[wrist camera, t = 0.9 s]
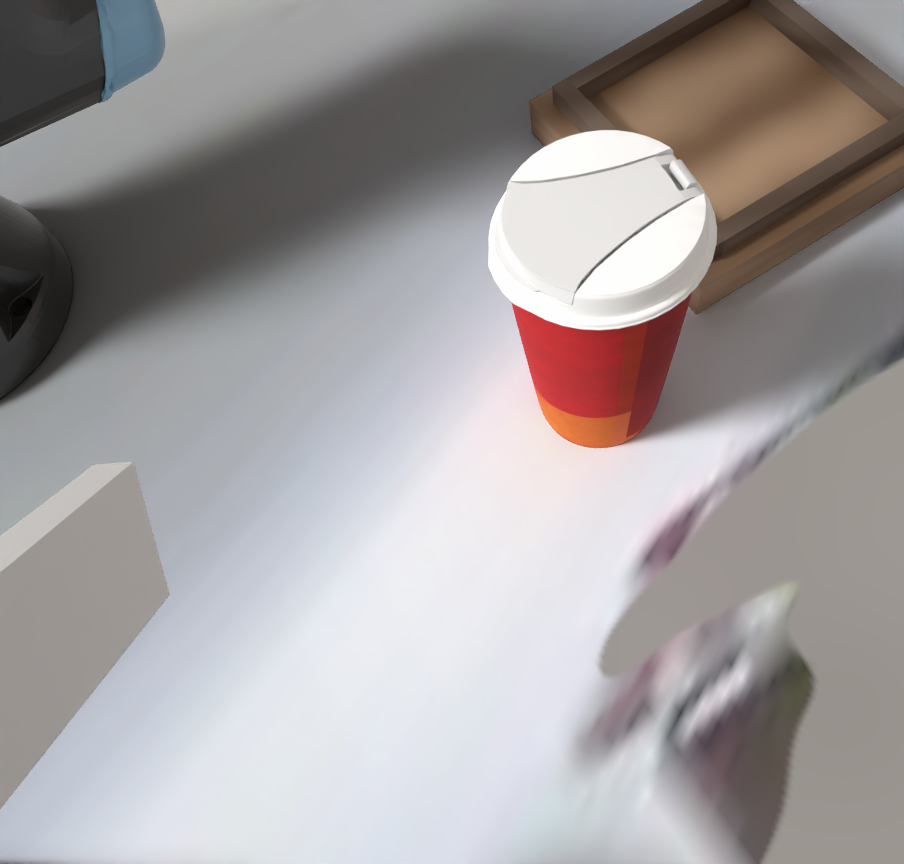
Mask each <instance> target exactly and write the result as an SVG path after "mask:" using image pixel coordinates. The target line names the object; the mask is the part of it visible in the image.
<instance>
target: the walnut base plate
mask: <svg viewBox="0 0 904 864" xmlns="http://www.w3.org/2000/svg"><path fill="white" fill-rule="evenodd" d="M529 104H530V115H531V126H532V133H533V134H534V135H535V136H536V137H537V138H538V140H539V141H540V142H541V143H542V144H543V145H544V146H547V145H549V144H551V143H553V142H555V141H557V140H560V139H563V138H565V137H568V136H571V135H575V134H579V133H583V132H590V131H599V130H618V131H626V132H633V133H636V134H640V135H644V136H647V137H650V138H652V139H655V140H657V141H660V142H662V143H663V144H665V145H667V146H668V147H670V148H671V149H672V150H673V154H674V156H675V158H676V159H677V160H678V159H680V160H682V161H683V163H684V164H685V165H686V167H687V168H688V170H689V171H690V172H691V174H692V175H693V176H694V177H695V179H696V180H697V182H698V183H699V184H700V185H701V187H702V188H703V190H704V191H705V193H706V195H707V196H708V198H709V200H710V202H711V205H712V208H713V210H714V213H715V218H716V225H717V243H716V247H715V252H714V256H713V260H712V262H711V264H710V266H709V268H708V271H707V273H706V274H705V276H704V277H703V279H702V280H701V282H700V283H699V285H698V286H697V287H696V288H695V289H694V290H693V292H692V295H691V299H690V302H689V305H688V306H689V307H690V308H691V309H692V310H693V311H694V313H695V314H697V313H699V312H701V311H702V310H704V309H705V308H707V307H709V306H710V305H712V304H714V303H715V302H717V301H719V300H720V299H722V298H723V297H725V296H727V295H728V294H730V293H732V292H733V291H735V290H737V289H738V288H740V287H741V286H743V285H745V284H746V283H748V282H750V281H751V280H753V279H755V278H756V277H758V276H759V275H761V274H763V273H764V272H766V271H768V270H769V269H771V268H772V267H774V266H776V265H777V264H779V263H781V262H782V261H784V260H786V259H787V258H789V257H790V256H792V255H794V254H795V253H797V252H799V251H800V250H802V249H804V248H805V247H807V246H808V245H810V244H812V243H813V242H815V241H817V240H818V239H820V238H822V237H823V236H825V235H826V234H828V233H830V232H831V231H833V230H835V229H836V228H838V227H839V226H841V225H843V224H844V223H846V222H848V221H849V220H851V219H853V218H854V217H856V216H857V215H859V214H861V213H862V212H864V211H866V210H867V209H869V208H871V207H872V206H874V205H875V204H877V203H879V202H880V201H882V200H884V199H885V198H887V197H889V196H890V195H892V194H893V193H895V192H897V191H898V190H900V189H902V188H903V187H904V88H903V87H902V86H901V85H899V84H898V83H897V82H896V81H894V80H893V79H892V78H890V77H889V76H888V75H887V74H885V73H884V72H883V71H882V70H880V69H879V68H878V67H877V66H875V65H874V64H873V63H871V62H870V61H869V60H868V59H866V58H865V57H864V56H863V55H861V54H860V53H859V52H857V51H856V50H855V49H854V48H852V47H851V46H850V45H849V44H847V43H846V42H845V41H844V40H842V39H841V38H840V37H838V36H837V35H836V34H835V33H833V32H832V31H831V30H830V29H828V28H827V27H826V26H825V25H823V24H822V23H821V22H819V21H818V20H817V19H816V18H814V17H813V16H812V15H811V14H809V13H808V12H807V11H805V10H804V9H803V8H802V7H800V6H799V5H798V4H797V3H795V2H794V1H793V0H703V1H701V2H699V3H697V4H696V5H694V6H692V7H690V8H689V9H687V10H685V11H683V12H682V13H680V14H678V15H676V16H675V17H673V18H671V19H669V20H668V21H666V22H664V23H662V24H661V25H659V26H657V27H655V28H654V29H652V30H650V31H648V32H647V33H645V34H643V35H642V36H640V37H638V38H636V39H635V40H633V41H631V42H629V43H628V44H626V45H624V46H622V47H621V48H619V49H617V50H615V51H614V52H612V53H610V54H608V55H607V56H605V57H603V58H601V59H600V60H598V61H596V62H594V63H593V64H591V65H589V66H587V67H586V68H584V69H582V70H580V71H579V72H577V73H575V74H573V75H572V76H570V77H568V78H567V79H565V80H563V81H561V82H560V83H558V84H556V85H554V86H553V87H552V88H551V89H550V90H548V91H546V92H544V93H543V94H541V95H539V96H537V97H536V98H534V99H532V100H530V101H529Z"/></svg>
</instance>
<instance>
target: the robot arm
mask: <svg viewBox="0 0 904 864" xmlns="http://www.w3.org/2000/svg"><path fill="white" fill-rule="evenodd" d="M164 49H165V34H164V28H163V24H162V21H161V18H160V15H159V12H158V9H157V6H156V3H155V0H0V147H1V146H3V145H5V144H8V143H10V142H12V141H14V140H17V139H19V138H21V137H23V136H25V135H28V134H30V133H32V132H34V131H36V130H39V129H41V128H43V127H45V126H48V125H50V124H52V123H54V122H56V121H59V120H61V119H63V118H65V117H68V116H70V115H72V114H74V113H76V112H79V111H81V110H83V109H85V108H87V107H90V106H92V105H94V104H96V103H101V102H104V101H106V100H108V99H109V98H110V97H111V96H112V94H113V93H114V92H115V91H117V90H119V89H121V88H122V87H124V86H126V85H128V84H129V83H131V82H133V81H135V80H136V79H138V78H140V77H142V76H144V75H145V74H147V73H149V72H150V71H152V70H153V69H154V68H155V67H156V66H157V65H158V63H159V62H160V60H161V58H162V56H163V53H164ZM71 297H72V271H71V266H70V262H69V259H68V257H67V254H66V252H65V250H64V248H63V247H62V245H61V244H60V243H59V241H58V240H57V239H56V238H55V237H54V236H53V235H52V234H51V233H50V232H49V231H48V230H47V228H46V227H45V226H44V225H43V224H42V223H41V222H40V221H39V220H38V219H37V218H36V217H35V216H33V215H32V214H31V213H30V212H28V211H27V210H26V209H24V208H23V207H21V206H20V205H18V204H16V203H14V202H12V201H10V200H8V199H6V198H4V197H2V196H0V398H1V397H3V396H4V395H6V394H7V393H8V392H10V391H11V390H12V389H14V388H15V387H16V386H17V385H18V384H20V383H21V382H22V381H23V380H24V379H25V378H26V377H27V376H28V375H29V374H30V373H31V372H32V371H33V370H34V369H35V368H36V367H37V366H38V365H39V363H40V362H41V361H42V360H43V358H44V357H45V356H46V354H47V353H48V352H49V350H50V349H51V347H52V346H53V344H54V342H55V341H56V339H57V337H58V335H59V333H60V331H61V329H62V327H63V325H64V322H65V320H66V317H67V314H68V311H69V307H70V303H71ZM169 595H170V594H169V590H168V587H167V583H166V579H165V576H164V572H163V568H162V565H161V561H160V557H159V554H158V550H157V546H156V543H155V539H154V535H153V532H152V528H151V524H150V521H149V517H148V513H147V510H146V506H145V502H144V499H143V495H142V491H141V488H140V484H139V480H138V477H137V473H136V469H135V466H134V462H123V463H108V464H94V465H92V466H91V467H90V468H89V469H87V470H86V471H85V472H83V473H82V474H81V475H79V476H78V477H77V478H75V479H74V480H73V481H72V482H70V483H69V484H68V485H66V486H65V487H64V488H62V489H61V490H60V491H58V492H57V493H56V494H55V495H53V496H52V497H51V498H49V499H48V500H47V501H45V502H44V503H43V504H41V505H40V506H39V507H38V508H36V509H35V510H34V511H32V512H31V513H30V514H28V515H27V516H26V517H24V518H23V519H22V520H21V521H19V522H18V523H17V524H15V525H14V526H13V527H11V528H10V529H9V530H7V531H6V532H5V533H3V534H2V535H1V536H0V809H1V808H2V806H3V805H4V804H5V803H6V801H7V800H8V799H9V797H10V796H11V795H12V794H13V792H14V791H15V790H16V789H17V787H18V786H19V785H20V784H21V782H22V781H23V780H24V778H25V777H26V776H27V775H28V773H29V772H30V771H31V770H32V768H33V767H34V766H35V765H36V763H37V762H38V761H39V760H40V758H41V757H42V756H43V754H44V753H45V752H46V751H47V749H48V748H49V747H50V746H51V744H52V743H53V742H54V741H55V739H56V738H57V737H58V736H59V734H60V733H61V732H62V730H63V729H64V728H65V727H66V725H67V724H68V723H69V722H70V720H71V719H72V718H73V717H74V715H75V714H76V713H77V711H78V710H79V709H80V708H81V706H82V705H83V704H84V703H85V701H86V700H87V699H88V698H89V696H90V695H91V694H92V693H93V691H94V690H95V689H96V687H97V686H98V685H99V684H100V682H101V681H102V680H103V679H104V677H105V676H106V675H107V674H108V672H109V671H110V670H111V668H112V667H113V666H114V665H115V663H116V662H117V661H118V660H119V658H120V657H121V656H122V655H123V653H124V652H125V651H126V650H127V648H128V647H129V646H130V644H131V643H132V642H133V641H134V639H135V638H136V637H137V636H138V634H139V633H140V632H141V631H142V629H143V628H144V627H145V625H146V624H147V623H148V622H149V620H150V619H151V618H152V617H153V615H154V614H155V613H156V612H157V610H158V609H159V608H160V607H161V605H162V604H163V603H164V601H165V600H166V599H167V598H168V596H169Z"/></svg>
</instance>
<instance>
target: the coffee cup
mask: <svg viewBox="0 0 904 864" xmlns="http://www.w3.org/2000/svg"><path fill="white" fill-rule="evenodd" d="M716 243H717V225H716V218H715V213H714V210H713V208H712V205H711V202H710V200H709V198H708V196H707V195H706V193H705V191H704V190H703V188H702V187H701V185H700V184H699V183H698V182H697V180H696V179H695V177H694V176H693V175H692V174H691V172H690V171H689V170H688V168H687V167H686V165H685V164H684V163H683V161H682V160H680V159H678V160H677V159H676V158H675V156H674V154H673V150H672V149H671V148H670V147H668V146H667V145H665V144H663V143H662V142H660V141H657V140H655V139H652V138H650V137H647V136H644V135H640V134H636V133H633V132H626V131H618V130H599V131H590V132H583V133H579V134H575V135H571V136H568V137H565V138H563V139H560V140H557V141H555V142H553V143H551V144H549V145H547V146H545V147H543V148H542V149H541V150H539V151H538V152H536V153H535V154H533V155H532V156H531V157H530V158H529V159H527V160H526V161H525V162H524V163H523V164H522V165H521V166H520V167H519V169H518V170H517V171H516V172H515V174H514V175H513V176H512V177H511V179H510V181H509V182H508V184H507V191H506V192H505V193H504V195H503V196H502V198H501V200H500V202H499V203H498V205H497V207H496V209H495V212H494V215H493V217H492V220H491V225H490V231H489V262H488V266H489V269H490V271H491V273H492V276H493V278H494V280H495V282H496V283H497V285H498V286H499V288H500V289H501V291H502V292H503V293H504V295H505V296H506V297H507V298H508V299H509V300H510V301H511V302H512V306H513V310H514V314H515V317H516V321H517V325H518V329H519V332H520V336H521V340H522V344H523V347H524V351H525V354H526V358H527V362H528V365H529V369H530V373H531V376H532V380H533V383H534V387H535V390H536V394H537V397H538V400H539V403H540V406H541V409H542V411H543V414H544V416H545V418H546V420H547V421H548V423H549V424H550V426H551V427H552V428H553V429H554V430H555V431H556V432H557V433H558V434H559V435H560V436H562V437H563V438H565V439H566V440H568V441H570V442H572V443H574V444H577V445H580V446H584V447H590V448H606V447H612V446H616V445H619V444H622V443H624V442H626V441H628V440H630V439H631V438H633V437H634V436H636V435H637V434H638V433H639V432H640V431H641V430H642V429H643V428H644V427H645V426H646V425H647V423H648V422H649V420H650V419H651V417H652V415H653V413H654V410H655V408H656V406H657V403H658V400H659V397H660V394H661V391H662V388H663V385H664V382H665V379H666V376H667V373H668V370H669V367H670V363H671V360H672V357H673V354H674V351H675V347H676V344H677V341H678V338H679V334H680V331H681V328H682V325H683V321H684V318H685V315H686V312H687V308H688V305H689V302H690V299H691V295H692V292H693V290H694V289H695V288H696V287H697V286H698V285H699V283H700V282H701V280H702V279H703V277H704V276H705V274H706V273H707V271H708V268H709V266H710V264H711V262H712V260H713V256H714V252H715V247H716Z"/></svg>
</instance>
